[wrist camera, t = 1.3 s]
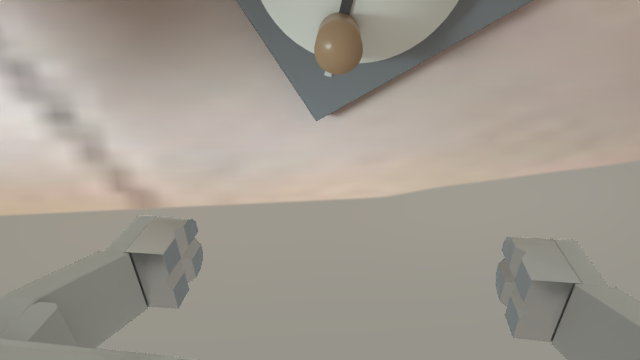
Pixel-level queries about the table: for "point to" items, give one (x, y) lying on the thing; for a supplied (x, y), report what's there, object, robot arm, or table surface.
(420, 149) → the table surface
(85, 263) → the robot arm
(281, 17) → the dial
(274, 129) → the table surface
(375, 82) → the dial housing
